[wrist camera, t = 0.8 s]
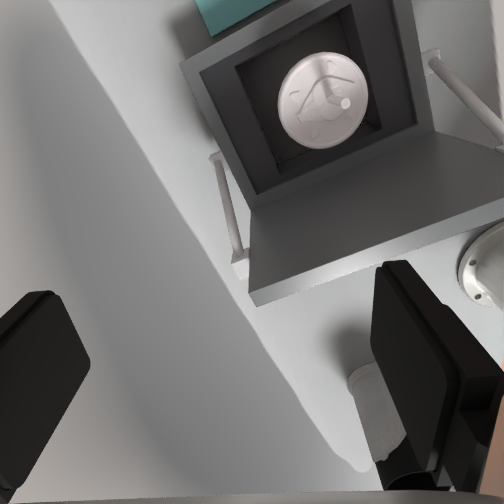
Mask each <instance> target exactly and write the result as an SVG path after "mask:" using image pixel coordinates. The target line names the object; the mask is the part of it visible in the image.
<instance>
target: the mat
mask: <svg viewBox="0 0 504 504" xmlns="http://www.w3.org/2000/svg"><path fill="white" fill-rule="evenodd" d="M275 1H277V0H195V2H196V4H197V6H198V8H199V11H200V13H201V15H202V18H203V20H204V22H205V24H206V27H207V29H208V31H209V34H210V36H211V37H214V36H215V35H217V34H219V33H221V32H222V31H224V30H226V29H228V28H229V27H231V26H233V25H235V24H237V23H238V22H240V21H242V20H244V19H245V18H247V17H249V16H251V15H252V14H254V13H256V12H258V11H259V10H261V9H263V8H265V7H267V6H268V5H270V4H272V3H274V2H275Z"/></svg>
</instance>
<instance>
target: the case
mask: <svg viewBox="0 0 504 504" xmlns="http://www.w3.org/2000/svg"><path fill="white" fill-rule="evenodd" d="M338 12H339V15H340V18H341V22H342V26H343V29H344V33H345V37H346V40H347V44H348V48H349V51H350V55H351V59H352V61H353V62H354V63H355V64H356V65H357V66H358V67H359V68H360V70H361V71H362V73H363V75H364V77H365V80H366V84H367V89H368V102H367V108H366V114H367V117H368V121H369V124H366V125H364V126H362V127H360V128H358V129H356V130H355V132H354V133H353V134H352V135H351V136H350V137H349V138H347V139H346V140H345V141H343V142H342V143H340V144H338V145H335V146H333V147H329V148H324V149H311V150H309V151H307V152H305V153H303V154H300V155H298V156H296V157H294V158H292V159H289V160H287V161H285V162H283V163H281V164H278V165H277V163H276V161H275V158H274V156H273V154H272V151H271V149H270V147H269V144H268V142H267V139H266V137H265V135H264V132H263V130H262V128H261V125H260V123H259V120H258V118H257V116H256V113H255V111H254V109H253V106H252V104H251V101H250V99H249V97H248V94H247V92H246V90H245V87H244V85H243V82H242V80H241V78H240V75H239V73H238V71H237V68H236V67H238V66H240V65H241V64H243V63H245V62H247V61H249V60H251V59H253V58H255V57H256V56H258V55H260V54H262V53H264V52H266V51H268V50H269V49H271V48H273V47H275V46H277V45H279V44H281V43H283V42H284V41H286V40H288V39H290V38H292V37H294V36H296V35H297V34H299V33H301V32H303V31H305V30H307V29H309V28H310V27H312V26H314V25H316V24H318V23H320V22H322V21H324V20H325V19H327V18H329V17H331V16H333V15H335V14H337V13H338ZM179 66H180V68H181V70H182V72H183V74H184V76H185V78H186V80H187V82H188V84H189V87H190V89H191V91H192V93H193V95H194V97H195V99H196V101H197V103H198V105H199V107H200V109H201V111H202V113H203V115H204V117H205V119H206V121H207V123H208V125H209V127H210V129H211V131H212V133H213V135H214V137H215V139H216V141H217V143H218V145H219V147H220V149H221V150H220V151H218V152H216V153H214V154H211V155H210V157H209V158H208V159H209V161H210V163H211V165H212V167H213V169H214V171H215V172H216V176H217V181H218V185H219V190H220V194H221V199H222V203H223V208H224V213H225V217H226V222H227V226H228V231H229V235H230V240H231V244H232V249H233V253H234V254H232V261H231V265H232V267H233V269H234V270H235V272H236V274H237V276H238V277H239V279H240V281H241V280H244V279H246V278H249V291H248V293H249V295H250V297H251V299H252V300H253V302H254V304H255V306H256V307H259V306H261V305H264V304H267V303H270V302H272V301H275V300H278V299H281V298H283V297H286V296H289V295H292V294H295V293H297V292H300V291H303V290H306V289H308V288H311V287H314V286H317V285H319V284H322V283H325V282H328V281H330V280H333V279H336V278H339V277H341V276H344V275H347V274H350V273H352V272H355V271H358V270H361V269H363V268H366V267H369V266H372V265H374V264H377V263H380V262H383V261H385V260H388V259H391V258H394V257H396V256H399V255H402V254H405V253H408V252H410V251H413V250H416V249H419V248H421V247H424V246H427V245H430V244H432V243H435V242H438V241H441V240H443V239H446V238H449V237H452V236H454V235H457V234H460V233H463V232H465V231H468V230H471V229H474V228H476V227H479V226H482V225H485V224H487V223H490V222H493V221H496V220H498V219H501V218H504V123H503V122H502V121H501V120H500V119H499V118H498V117H497V116H496V115H495V114H494V113H493V112H492V111H491V110H490V109H489V108H488V107H487V106H486V105H485V104H484V103H483V102H482V101H481V100H480V99H479V98H478V97H477V96H476V95H475V94H474V93H473V92H472V91H471V90H470V89H469V88H468V87H467V86H466V85H465V84H464V83H463V82H462V81H461V80H460V79H459V78H458V77H457V76H456V75H455V74H454V73H453V72H452V71H451V70H450V69H449V68H448V67H447V66H446V65H445V64H444V63H443V62H442V61H441V56H440V50H439V48H433V49H429V50H427V51H425V52H422V53H421V52H420V47H419V42H418V36H417V31H416V25H415V20H414V15H413V9H412V4H411V0H292V1H290V2H288V3H286V4H285V5H283V6H281V7H279V8H278V9H276V10H274V11H272V12H270V13H269V14H267V15H265V16H263V17H262V18H260V19H258V20H256V21H254V22H253V23H251V24H249V25H247V26H246V27H244V28H242V29H240V30H238V31H237V32H235V33H233V34H231V35H229V36H228V37H226V38H224V39H222V40H221V41H219V42H217V43H215V44H213V45H212V46H210V47H208V48H206V49H205V50H203V51H201V52H199V53H197V54H196V55H194V56H192V57H190V58H188V59H187V60H185V61H183V62H181V63H180V64H179ZM434 72H435V73H436V75H437V76H438V77H439V78H440V79H441V80H442V81H443V82H444V83H445V84H446V85H447V86H448V87H449V88H450V89H451V90H452V91H453V92H454V93H455V94H456V95H457V97H458V98H459V99H460V100H461V101H462V102H463V103H464V104H465V105H466V106H467V107H468V108H469V109H470V110H471V111H472V112H473V113H474V114H475V115H476V116H477V117H478V119H479V120H480V121H481V122H482V123H483V124H484V125H485V126H486V127H487V128H488V129H489V130H490V131H491V132H492V133H493V134H494V135H495V136H496V137H497V138H498V140H499V141H500V142H501V143H502V145H499V146H497V147H495V150H494V149H490V148H487V147H484V146H481V145H477V144H474V143H471V142H468V141H464V140H461V139H458V138H455V137H451V136H448V135H445V134H442V133H438V132H435V128H434V123H433V118H432V112H431V107H430V101H429V96H428V90H427V85H426V80H425V77H426V76H428V75H430V74H432V73H434ZM229 168H230V170H231V172H232V174H233V176H234V178H235V180H236V182H237V184H238V186H239V188H240V190H241V192H242V194H243V196H244V198H245V200H246V202H247V204H248V206H249V208H250V210H251V220H250V249H249V247H248V248H246V249H243V246H242V242H241V238H240V234H239V230H238V226H237V221H236V217H235V213H234V209H233V205H232V201H231V197H230V193H229V188H228V184H227V180H226V176H225V172H224V171H225V170H227V169H229Z"/></svg>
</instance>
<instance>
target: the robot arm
mask: <svg viewBox="0 0 504 504" xmlns="http://www.w3.org/2000/svg"><path fill="white" fill-rule="evenodd" d="M458 279H459V284H460V286H461V288H462V290H463V291H464V293H465V294H466V295H467V296H468V297H469V298H470V299H471V300H472V301H474V302H476V303H478V304H480V305H482V306H486V307H493V308H499V309H501V310H502V311H503V312H504V222H501V223H499V224H497V225H495V226H494V227H492V228H490V229H488V230H487V231H486V232H484V233H483V234H482V235H480V236H479V237H478V238H477V239H476V240H475V241H474V242H473V243H472V244H471V246H470V247H469V248H468V250H467V251H466V252H465V254H464V256H463V258H462V260H461V263H460V266H459V272H458ZM370 343H371V348H372V352H373V354H374V357H375V359H376V361H377V364H378V366H379V369H380V371H381V373H382V376H383V378H384V381H385V383H386V385H387V388H388V390H389V393H390V395H391V397H392V400H393V402H394V405H395V407H396V409H397V412H398V414H399V417H400V419H401V421H402V424H403V426H404V429H405V431H406V433H407V436H408V438H409V441H410V443H411V445H412V448H413V450H414V453H415V455H416V457H417V460H418V462H419V464H420V466H421V468H422V469H423V470H424V471H429V470H430V473H431V475H432V477H433V479H434V482H435V484H436V486H437V487H439V486H454V488H455V490H456V492H454V491H426V490H394V491H333V492H331V491H330V492H303V493H302V492H301V493H272V494H243V495H215V496H187V497H164V498H163V497H162V498H137V499H113V500H87V501H63V502H40V503H19V504H504V372H503V371H502V369H501V368H500V367H499V365H498V364H497V363H496V362H495V361H494V359H493V358H492V357H491V356H490V355H489V353H488V352H487V351H486V350H485V349H484V347H483V346H482V345H481V344H480V343H479V341H478V340H477V339H476V338H475V337H474V335H473V334H472V333H471V332H470V331H469V330H468V328H467V327H466V326H465V325H464V324H463V322H462V321H461V320H460V319H459V318H458V316H457V315H456V314H455V313H454V312H453V310H452V309H451V308H450V307H449V306H447V305H445V304H442V303H441V302H440V300H439V299H438V298H437V297H436V295H435V294H434V293H433V292H432V291H431V289H430V288H429V287H428V286H427V284H426V283H425V282H424V281H423V279H422V278H421V277H420V276H419V275H418V273H417V272H416V271H415V270H414V268H413V267H412V266H411V265H410V264H409V262H408V261H407V260H396V261H385V262H383V264H382V267H377V268H376V273H375V286H374V298H373V311H372V324H371V336H370ZM89 369H90V358H89V356H88V354H87V353H86V350H85V348H84V346H83V344H82V342H81V339H80V337H79V335H78V333H77V331H76V329H75V327H74V325H73V323H72V320H71V318H70V316H69V314H68V312H67V310H66V308H65V306H64V304H63V302H62V300H61V298H60V296H58V295H56V294H55V293H54V292H53V291H50V290H47V291H35V292H29V293H27V294H26V295H25V296H24V297H23V298H21V299H20V300H19V301H18V302H17V303H16V304H15V305H14V306H13V307H12V308H11V309H10V310H9V311H8V312H6V313H5V314H4V315H3V316H2V317H1V318H0V504H8V503H9V501H10V500H11V498H12V496H13V495H14V493H15V491H16V489H17V488H19V487H20V486H21V485H22V484H23V483H24V482H25V480H26V479H27V477H28V475H29V474H30V472H31V470H32V469H33V467H34V465H35V463H36V462H37V460H38V458H39V456H40V455H41V453H42V451H43V449H44V447H45V446H46V444H47V443H48V441H49V439H50V437H51V436H52V434H53V432H54V430H55V428H56V427H57V425H58V423H59V422H60V420H61V418H62V416H63V415H64V413H65V411H66V410H67V408H68V406H69V404H70V403H71V401H72V399H73V398H74V396H75V394H76V392H77V391H78V389H79V387H80V385H81V384H82V382H83V380H84V378H85V377H86V375H87V373H88V371H89Z"/></svg>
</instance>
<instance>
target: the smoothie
mask: <svg viewBox="0 0 504 504" xmlns="http://www.w3.org/2000/svg"><path fill="white" fill-rule="evenodd" d="M367 102H368V89H367V84H366V80H365V77H364V75H363V73H362V71H361V70H360V68H359V67H358V66H357V65H356V64H355V63H354V62H353V61H352V60H351V59H349V58H348V57H346V56H344V55H341V54H338V53H333V52H320V53H316V54H311V55H309V56H307V57H306V58H304V59H302V60H300V61H299V62H298V63H297V64H296V65H295V66H294V67H292V68H291V69H290V71H289V72H288V74H287V75H286V77H285V78H284V80H283V83H282V85H281V88H280V91H279V96H278V113H279V118H280V121H281V123H282V126H283V128H284V129H285V131H286V132H287V133H288V135H289V136H290V137H291V138H292V139H294V140H295V141H296V142H298V143H299V144H301V145H303V146H306V147H309V148H314V149H324V148H329V147H333V146H335V145H338V144H340V143H342V142H343V141H345V140H346V139H347V138H349V137H350V136H351V135H352V134H353V133H354V132H355V130H356V129H357V128H358V126H359V125H360V123H361V121H362V119H363V117H364V115H365V111H366V108H367Z"/></svg>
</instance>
